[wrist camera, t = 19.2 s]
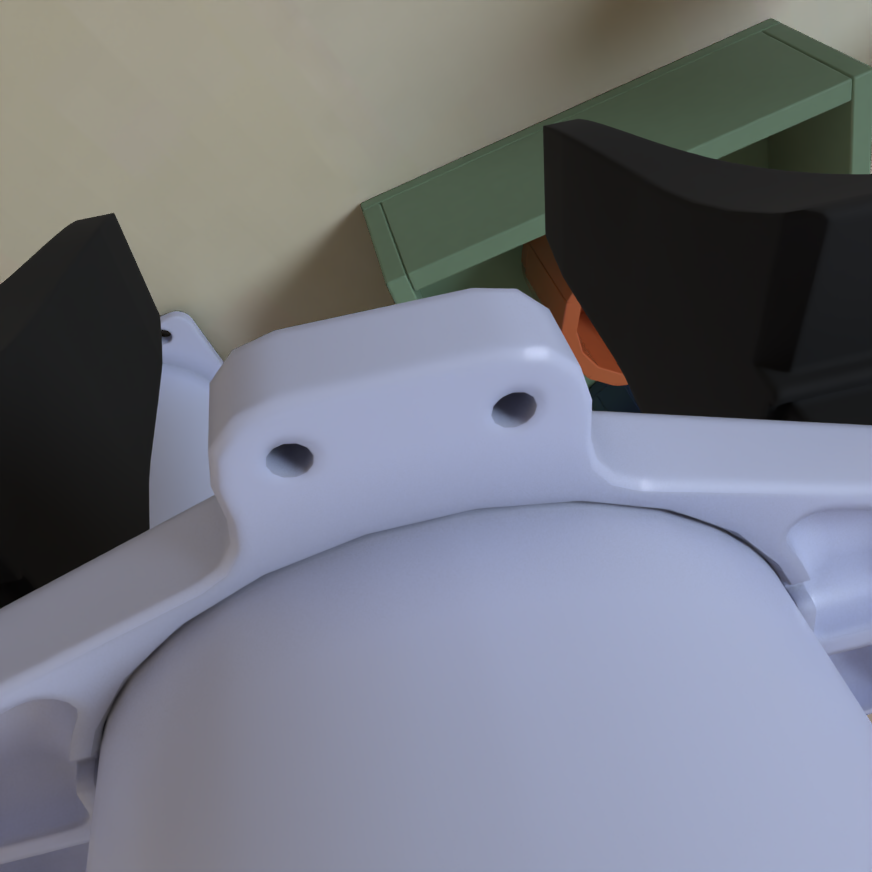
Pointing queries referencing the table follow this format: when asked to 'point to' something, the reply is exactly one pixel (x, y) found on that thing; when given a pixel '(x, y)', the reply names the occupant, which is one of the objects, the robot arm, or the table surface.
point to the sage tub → (642, 116)
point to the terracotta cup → (568, 313)
